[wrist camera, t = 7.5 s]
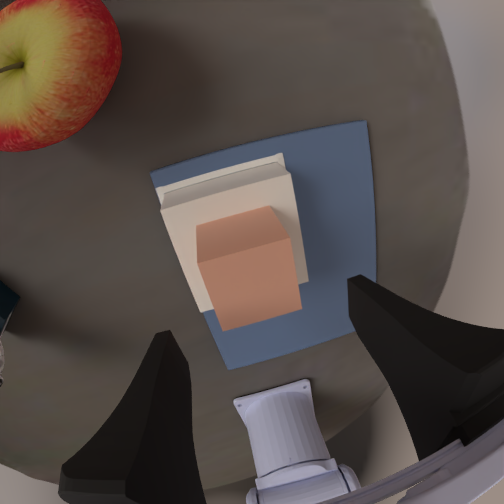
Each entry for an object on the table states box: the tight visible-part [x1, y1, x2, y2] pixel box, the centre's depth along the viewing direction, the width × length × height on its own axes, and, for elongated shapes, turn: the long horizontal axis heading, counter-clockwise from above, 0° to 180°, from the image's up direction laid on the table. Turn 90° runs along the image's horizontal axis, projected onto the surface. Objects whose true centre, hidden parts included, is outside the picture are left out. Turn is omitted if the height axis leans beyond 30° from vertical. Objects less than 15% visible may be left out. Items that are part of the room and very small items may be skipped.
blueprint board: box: [150, 120, 376, 370], centre depth 22 cm, size 18×14×1 cm
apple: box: [0, 0, 122, 152], centre depth 9 cm, size 8×8×10 cm
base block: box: [160, 162, 309, 312], centre depth 19 cm, size 7×7×3 cm
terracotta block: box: [196, 206, 302, 331], centre depth 16 cm, size 4×4×4 cm
